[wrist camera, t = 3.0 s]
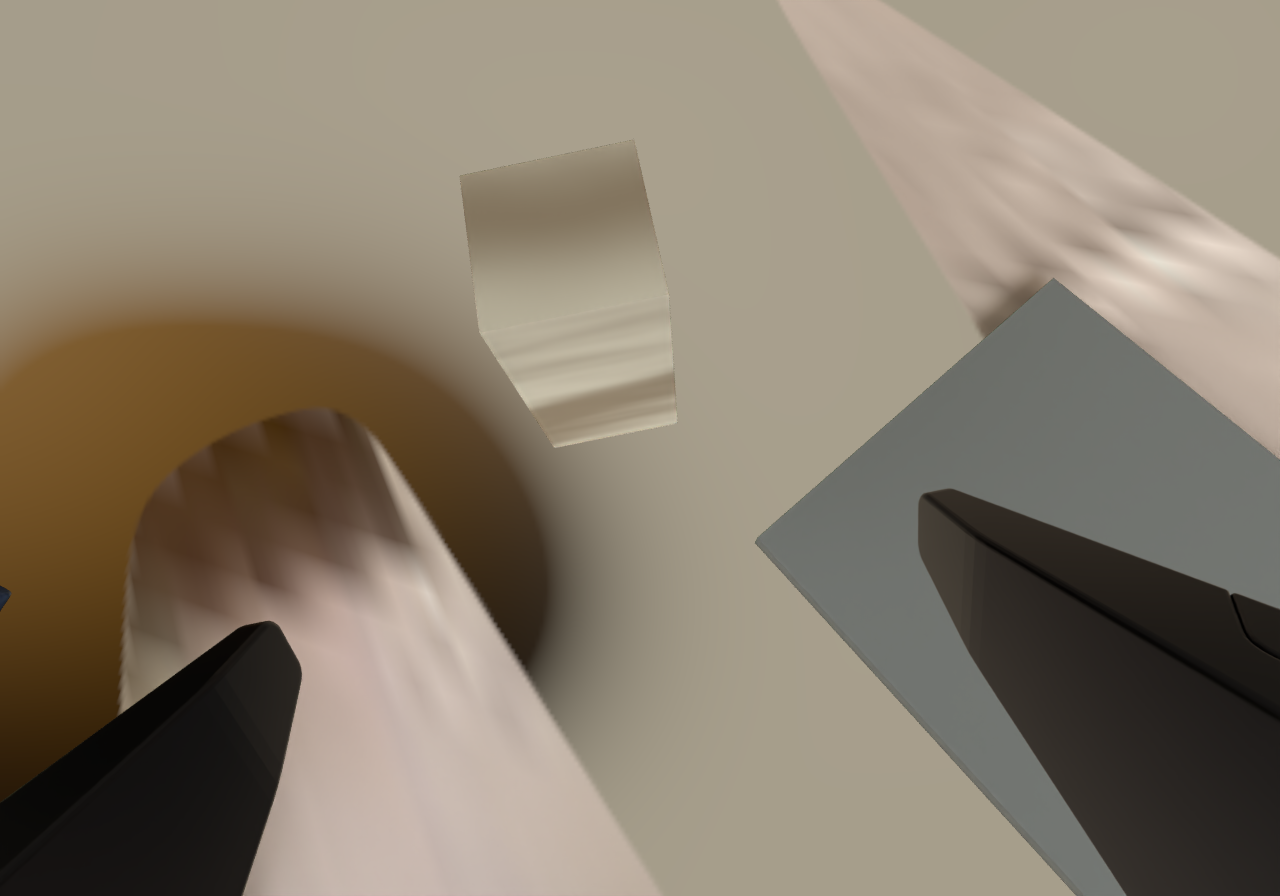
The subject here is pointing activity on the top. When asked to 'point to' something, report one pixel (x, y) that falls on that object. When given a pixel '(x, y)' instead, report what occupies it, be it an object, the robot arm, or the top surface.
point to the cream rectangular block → (574, 291)
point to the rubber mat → (1042, 489)
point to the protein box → (4, 596)
